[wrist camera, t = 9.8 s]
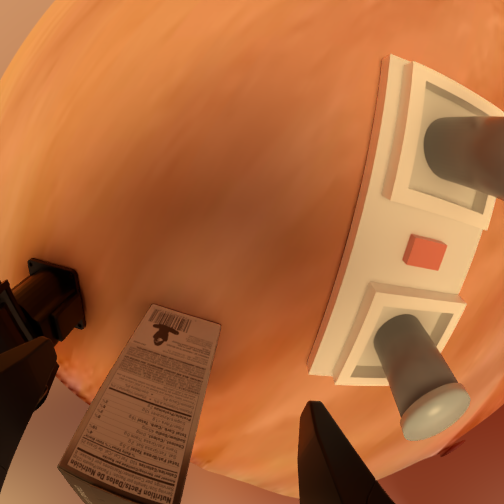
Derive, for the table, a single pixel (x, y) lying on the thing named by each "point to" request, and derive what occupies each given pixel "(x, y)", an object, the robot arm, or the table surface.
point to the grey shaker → (468, 152)
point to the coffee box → (145, 414)
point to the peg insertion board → (406, 257)
